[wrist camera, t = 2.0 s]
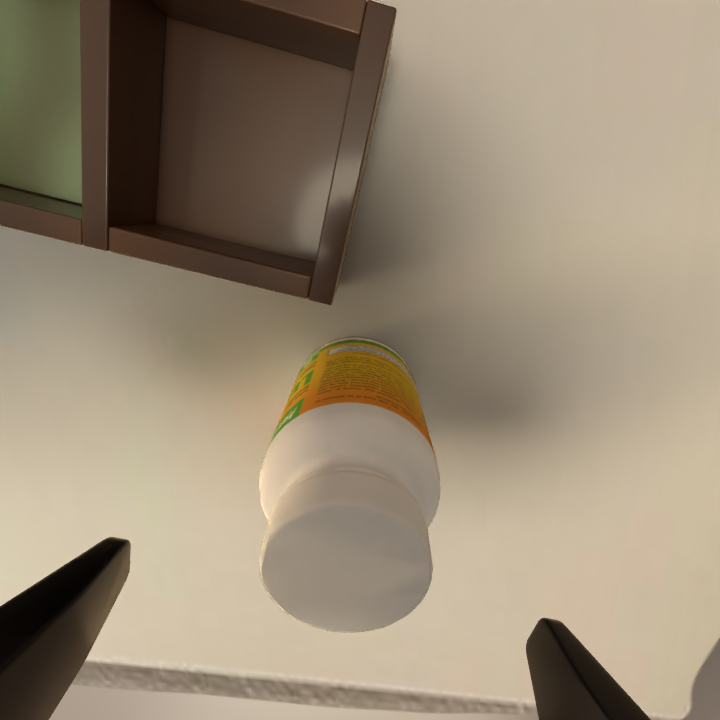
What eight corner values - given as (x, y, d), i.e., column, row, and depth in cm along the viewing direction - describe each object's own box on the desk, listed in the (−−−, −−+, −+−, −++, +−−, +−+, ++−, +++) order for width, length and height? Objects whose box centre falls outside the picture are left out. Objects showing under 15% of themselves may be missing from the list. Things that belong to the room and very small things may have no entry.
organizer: (-51, 191, 15) (-165, 186, 12) (-84, -81, 12) (-248, -188, 9) (338, 286, 16) (331, 305, 13) (389, 57, 13) (397, 7, 10)
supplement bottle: (304, 324, 17) (231, 457, 8) (426, 345, 17) (495, 497, 8) (290, 431, 19) (220, 640, 10) (400, 448, 19) (433, 666, 10)
